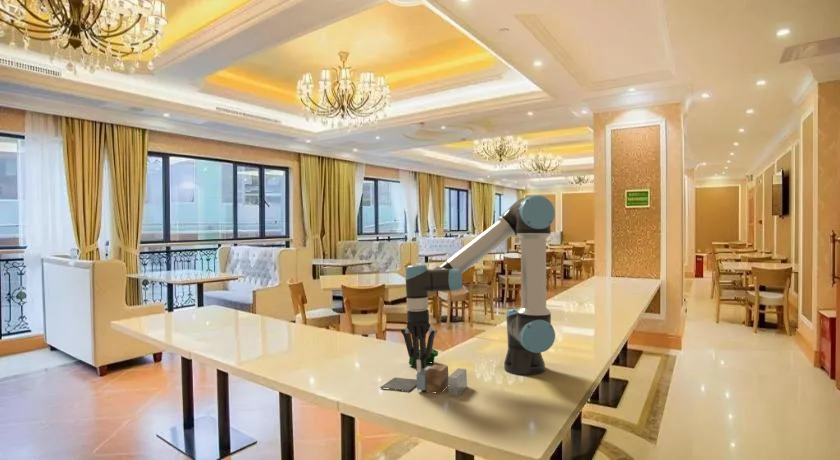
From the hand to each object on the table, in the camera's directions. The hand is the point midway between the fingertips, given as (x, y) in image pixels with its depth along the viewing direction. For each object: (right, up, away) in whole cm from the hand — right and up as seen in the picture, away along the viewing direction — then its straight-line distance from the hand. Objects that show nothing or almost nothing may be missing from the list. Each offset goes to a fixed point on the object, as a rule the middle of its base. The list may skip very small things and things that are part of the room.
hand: (420, 377), depth 156 cm
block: (+6, -3, -3) cm, 7 cm away
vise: (0, -3, 0) cm, 3 cm away
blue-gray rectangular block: (+2, -3, -1) cm, 4 cm away
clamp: (+2, -4, +27) cm, 28 cm away
